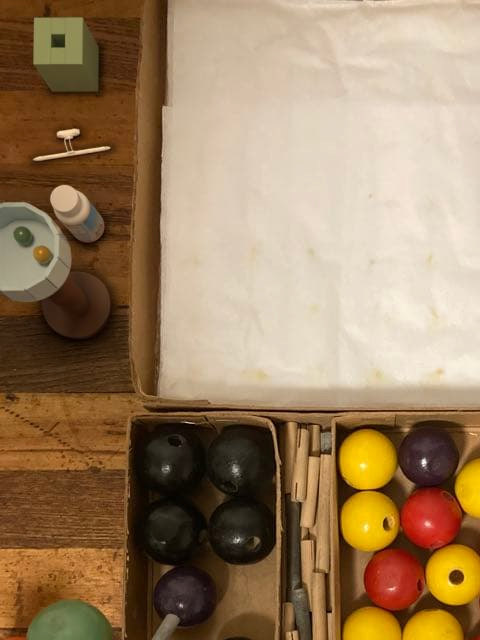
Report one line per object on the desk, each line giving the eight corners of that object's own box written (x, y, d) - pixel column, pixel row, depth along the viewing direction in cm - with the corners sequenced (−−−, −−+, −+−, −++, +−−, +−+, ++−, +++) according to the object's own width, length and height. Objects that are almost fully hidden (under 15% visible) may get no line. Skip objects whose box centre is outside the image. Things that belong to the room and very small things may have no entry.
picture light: (34, 162, 152) (29, 156, 150) (31, 139, 152) (25, 133, 150) (111, 150, 152) (107, 144, 150) (107, 127, 152) (104, 121, 150)
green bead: (17, 247, 129) (10, 240, 126) (18, 230, 129) (10, 223, 126) (34, 247, 129) (27, 240, 126) (35, 230, 129) (27, 223, 126)
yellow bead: (37, 266, 129) (29, 259, 126) (37, 249, 129) (30, 242, 126) (54, 266, 129) (47, 259, 126) (54, 249, 129) (47, 242, 126)
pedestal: (44, 339, 150) (-13, 298, 129) (45, 273, 150) (-11, 221, 129) (112, 338, 150) (66, 297, 129) (112, 273, 151) (67, 221, 130)
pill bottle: (92, 204, 151) (68, 173, 140) (112, 231, 151) (89, 201, 140) (64, 223, 151) (38, 193, 140) (84, 250, 151) (59, 222, 140)
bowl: (-17, 302, 129) (-34, 290, 124) (-16, 217, 130) (-32, 202, 125) (71, 301, 129) (58, 290, 124) (72, 216, 130) (59, 201, 125)
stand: (51, 91, 153) (33, 64, 145) (52, 47, 153) (33, 17, 145) (98, 91, 153) (82, 64, 145) (98, 47, 153) (82, 17, 145)
